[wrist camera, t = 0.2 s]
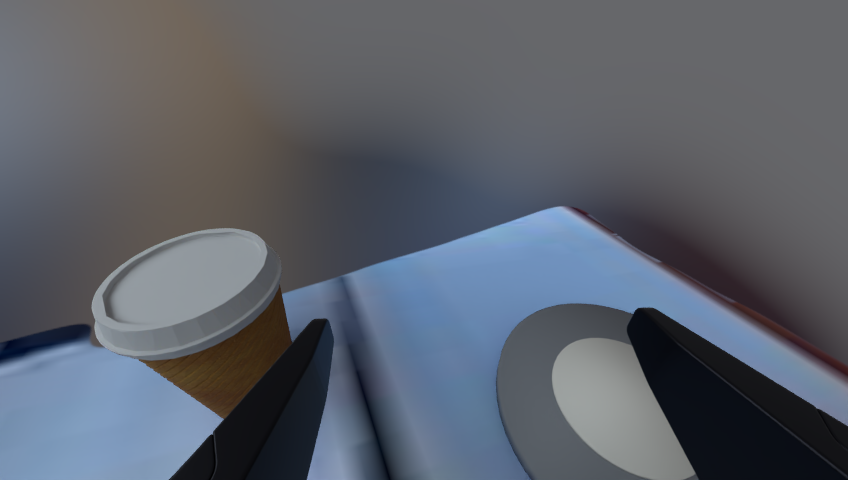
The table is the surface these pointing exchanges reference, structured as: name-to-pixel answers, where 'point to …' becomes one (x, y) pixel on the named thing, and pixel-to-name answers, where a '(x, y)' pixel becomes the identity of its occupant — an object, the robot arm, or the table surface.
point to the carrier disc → (583, 400)
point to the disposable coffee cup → (198, 313)
